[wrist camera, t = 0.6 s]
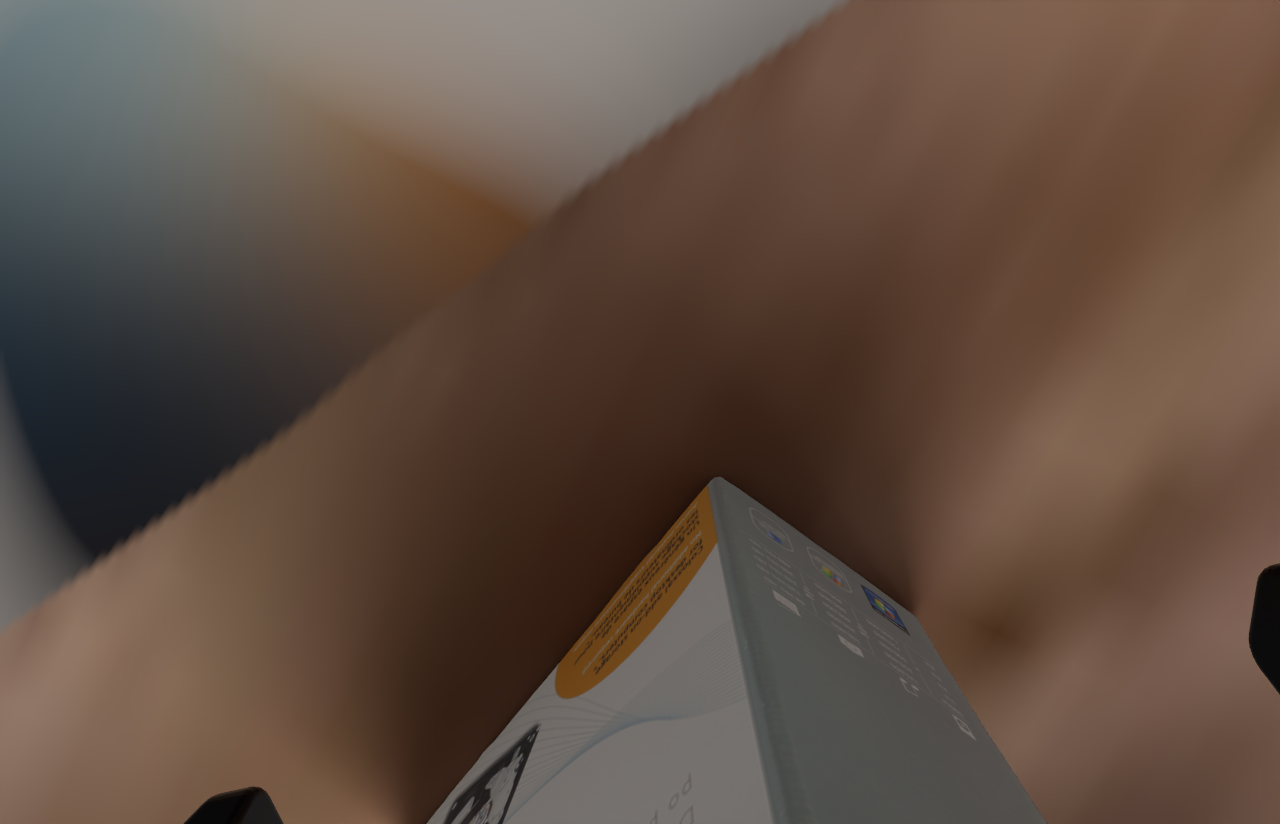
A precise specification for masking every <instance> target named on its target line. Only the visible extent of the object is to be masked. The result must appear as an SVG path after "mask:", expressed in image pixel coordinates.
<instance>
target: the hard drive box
mask: <svg viewBox="0 0 1280 824" xmlns="http://www.w3.org/2000/svg"><path fill="white" fill-rule="evenodd" d="M427 824H1047V823H1046V821H1045V820H1044V818H1043V817H1042V815H1041V814H1040V812H1039V811H1038V809H1037V808H1036V806H1035V804H1034V803H1033V801H1032V800H1031V798H1030V797H1029V795H1028V794H1027V792H1026V791H1025V789H1024V788H1023V786H1022V785H1021V783H1020V782H1019V780H1018V778H1017V777H1016V775H1015V774H1014V772H1013V771H1012V769H1011V768H1010V766H1009V765H1008V763H1007V761H1006V759H1005V758H1004V756H1003V755H1002V753H1001V752H1000V750H999V749H998V747H997V746H996V744H995V743H994V741H993V740H992V738H991V737H990V735H989V734H988V732H987V731H986V729H985V728H984V726H983V725H982V723H981V722H980V720H979V718H978V717H977V715H976V714H975V712H974V711H973V709H972V708H971V706H970V704H969V702H968V701H967V699H966V697H965V696H964V694H963V693H962V691H961V690H960V688H959V686H958V685H957V683H956V681H955V679H954V677H953V676H952V674H951V673H950V672H949V671H948V669H947V668H946V666H945V664H944V663H943V661H942V660H941V658H940V656H939V654H938V653H937V651H936V650H935V648H934V646H933V645H932V643H931V641H930V639H929V637H928V636H927V634H926V632H925V631H924V629H923V628H922V626H921V624H920V622H919V620H918V619H917V618H916V616H914V615H913V614H912V613H910V612H909V611H908V610H906V609H905V608H903V607H902V606H901V605H899V604H898V603H897V602H895V601H894V600H893V599H891V598H890V597H889V596H887V595H886V594H884V593H883V592H882V591H880V590H879V589H878V588H876V587H875V586H874V585H872V584H871V583H870V582H868V581H867V580H866V579H864V578H863V577H861V576H860V575H859V574H857V573H856V572H855V571H853V570H852V569H851V568H849V567H848V566H846V565H845V564H844V563H842V562H841V561H840V560H838V559H837V558H835V557H834V556H832V555H831V554H830V553H828V552H827V551H825V550H824V549H822V548H821V547H820V546H818V545H817V544H815V543H814V542H813V541H811V540H810V539H808V538H807V537H806V536H804V535H803V534H802V533H800V532H799V531H798V530H796V529H795V528H794V527H792V526H791V525H789V524H788V523H787V522H785V521H784V520H782V519H781V518H779V517H778V516H777V515H775V514H774V513H772V512H771V511H770V510H768V509H767V508H765V507H764V506H763V505H761V504H760V503H758V502H757V501H755V500H754V499H753V498H751V497H750V496H748V495H747V494H746V493H744V492H743V491H741V490H740V489H739V488H737V487H736V486H734V485H732V484H731V483H729V482H728V481H726V480H724V479H723V478H721V477H714V478H713V479H712V480H711V481H710V482H709V483H708V484H707V486H706V487H705V488H704V489H703V490H702V491H701V492H700V494H699V495H698V496H697V497H696V498H695V499H694V501H693V502H692V503H691V504H690V505H689V507H688V508H687V509H686V510H685V511H684V513H683V514H682V515H681V516H680V517H679V519H678V520H677V521H676V522H675V523H674V525H673V526H672V527H671V528H670V529H669V531H668V532H667V533H666V534H665V536H664V537H663V538H662V539H661V540H660V542H659V543H658V544H657V545H656V546H655V547H654V548H653V549H652V550H651V551H650V552H649V553H648V554H647V555H646V556H645V558H644V559H643V560H642V561H641V563H640V564H639V565H638V566H637V567H636V569H635V570H634V571H633V572H632V574H631V575H630V576H629V577H628V579H627V580H626V581H625V582H624V583H623V585H622V586H621V587H620V589H619V590H618V591H617V592H616V594H615V595H614V596H613V597H612V599H611V600H610V601H609V603H608V604H607V605H606V606H605V608H604V609H603V610H602V612H601V613H600V614H599V615H598V617H597V618H596V619H595V620H594V622H593V623H592V624H591V625H590V626H589V628H588V629H587V630H586V631H585V632H584V633H583V635H582V636H581V637H580V638H579V639H578V641H577V642H576V643H575V644H574V645H573V647H572V648H571V649H570V651H569V652H568V653H567V654H566V656H565V657H564V658H563V659H562V660H561V661H560V663H559V664H558V665H557V666H556V668H555V669H554V670H553V671H552V672H551V674H550V675H549V676H548V677H547V678H546V679H545V681H544V682H543V683H542V684H541V685H540V687H539V688H538V689H537V690H536V691H535V692H534V694H533V695H532V696H531V697H530V698H529V700H528V701H527V702H526V703H525V705H524V706H523V707H522V708H521V709H520V711H519V712H518V713H517V714H516V715H515V717H514V718H513V719H512V720H511V721H510V723H509V724H508V725H507V726H506V728H505V729H504V730H503V731H502V732H501V734H500V735H499V736H498V737H497V738H496V740H495V741H494V742H493V743H492V744H491V745H490V746H489V747H488V748H487V749H486V750H485V751H484V752H483V753H482V755H481V756H480V758H479V759H478V760H477V762H476V763H475V764H474V765H473V767H472V768H471V769H470V770H469V772H468V773H467V774H466V775H465V776H464V777H463V778H462V780H461V781H460V782H459V783H458V785H457V786H456V787H455V788H454V790H453V791H452V792H451V793H450V794H449V796H448V797H447V799H446V800H445V801H444V802H443V804H442V805H441V806H440V807H439V809H438V810H437V811H436V812H435V814H434V815H433V816H432V817H431V819H430V820H429V821H428V822H427Z"/></svg>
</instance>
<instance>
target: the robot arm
mask: <svg viewBox="0 0 1280 824" xmlns="http://www.w3.org/2000/svg"><path fill="white" fill-rule="evenodd" d="M1249 645H1250V649H1251V652H1252V655H1253V657H1254V659H1255V661H1256V663H1257V665H1258V666H1259V668H1260V669H1261V671H1262V672H1263V673H1264V675H1265V676H1266V677H1267V678H1268V680H1269V681H1270V682H1271V684H1272V685H1273V686H1274V688H1275V689H1276V690H1277V692H1278V693H1279V694H1280V564H1275V565H1271V566H1269V567H1267V568H1265V569H1264V570H1263V571H1262V573H1261V574H1260V575H1259V577H1258V580H1257V585H1256V592H1255V598H1254V605H1253V611H1252V618H1251V624H1250V631H1249ZM184 824H283V822H282V820H281V818H280V816H279V814H278V812H277V810H276V808H275V806H274V804H273V802H272V800H271V798H270V797H269V795H268V794H267V792H266V791H264V790H263V789H262V788H260V787H248V788H243V789H238V790H234V791H229V792H225V793H220V794H217V795H215V796H212V797H211V798H209V799H208V800H207V801H206V802H204V803H203V804H202V805H201V806H200V807H199V808H198V809H197V810H196V811H195V812H194V813H193V814H192V815H191V816H190V817H189V818H188V819H187V820H186V822H185V823H184Z"/></svg>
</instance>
